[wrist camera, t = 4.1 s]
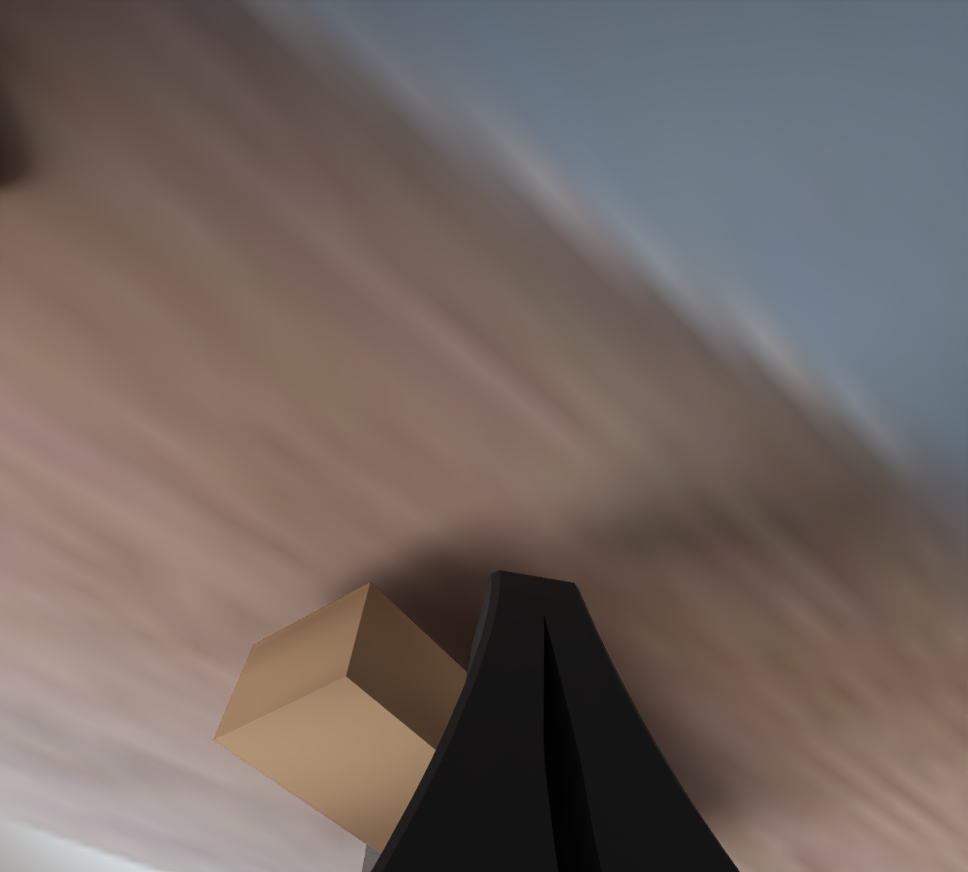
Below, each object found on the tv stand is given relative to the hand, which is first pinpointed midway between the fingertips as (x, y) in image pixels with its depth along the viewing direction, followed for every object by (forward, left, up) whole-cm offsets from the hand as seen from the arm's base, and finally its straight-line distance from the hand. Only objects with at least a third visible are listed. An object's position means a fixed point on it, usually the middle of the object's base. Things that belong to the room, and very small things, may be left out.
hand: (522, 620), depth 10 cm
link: (+6, -1, -1) cm, 6 cm away
